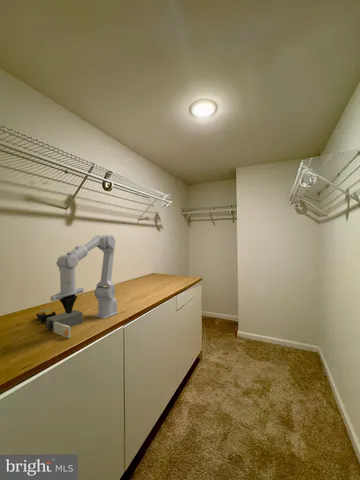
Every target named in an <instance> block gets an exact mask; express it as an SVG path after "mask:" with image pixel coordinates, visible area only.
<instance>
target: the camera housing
mask: <svg viewBox="0 0 360 480" xmlns="http://www.w3.org/2000/svg"><path fill="white" fill-rule="evenodd" d="M83 317H84V316H83V312H82V311H80V310H77V309H72V312H71V313H69V314H68V313H66V312H65V311H64V312H62V313H58V314H56V315H55V316H51V317H48V318H46V319H47V322H45V327H46V330H47V331H48V330H49V331H51V332H53V322H58V323H61V324H64V325H67V326H70V327H74V326H77V325H80V324H81V323H83V319H84V318H83Z"/></svg>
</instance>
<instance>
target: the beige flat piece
mask: <svg viewBox="0 0 360 480" xmlns="http://www.w3.org/2000/svg"><path fill="white" fill-rule="evenodd" d="M71 327H72V326H71ZM71 327H70V326H67V325H64V324H61V323H58V322H53V331H52V332H53V333H54V334H57V335H60V336H62V337H64V338H67V339H69V338H71V336H72V335H71Z"/></svg>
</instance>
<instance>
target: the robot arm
mask: <svg viewBox="0 0 360 480" xmlns="http://www.w3.org/2000/svg"><path fill="white" fill-rule="evenodd" d="M96 247H97V248H98V249H99V250H100V251H102V252H103V257H102V258H103V259H102V267H101V274H100V275H101V276H100V281H99V282H98V283H97V284H96V286H95V290H94V297H95V298H96V300H97V306H98V308H97V309H98V310H97V311H98V312H97V314H95V315H94V317H97V318H101V319H107V318H110V317H111V316H115V315H118V314H119V311H118V301H117V299H116V297H115V295H116V289H115V286H116V285H115V284H114V282H112V275H113V267H114V266H113V265H114V254H115V247H116V239H115V238H114V236H113V235H111V234H108V235H107V234H106V235H100V234H99V235H95V236H93V237H92V239H90V240H89V241H88V242H87V243H86V244H84V245H82V246H81V245H76V246H75V247H74V249H72V250H70V251H68V252H67V253H66V254H61V255H60V256H59V257H58V258H57V261H56V266H57V267H58V271H59V282H60V286H59V287H60V292H58V293H56V294H53V295H51V296H50V302H56V301H59V302H60V303H61V304H62V307H63V309H64V313H65V312H66V313H68V314H69V313H71V312H72V310H73V308H74V305H75V303H76V301H77V299H78V295H77V294H82V293H84V288H76V267H77V266H78V264H79V262H80V261H82V260H83V259H85V257H87V256H88V253H89V252H90V251H91V250H93V249H94V248H96Z"/></svg>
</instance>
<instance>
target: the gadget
mask: <svg viewBox="0 0 360 480" xmlns="http://www.w3.org/2000/svg"><path fill="white" fill-rule="evenodd" d="M55 315H57V313H56V312H55V311H53V309H52V308H49V309H43V310H40V311H39V312H38V313H36V319H37V321H39V322H41V323H46V322H47V319H46V318H48V317H51V316H55Z"/></svg>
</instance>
